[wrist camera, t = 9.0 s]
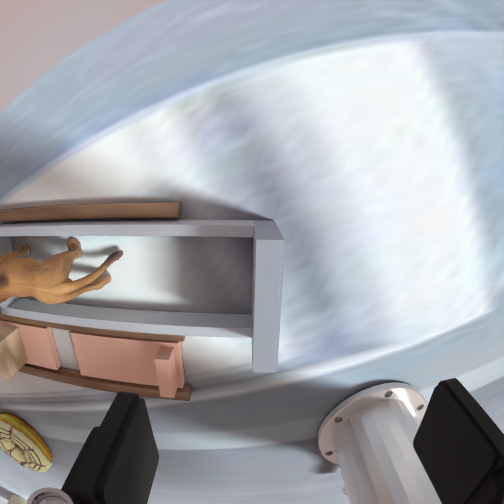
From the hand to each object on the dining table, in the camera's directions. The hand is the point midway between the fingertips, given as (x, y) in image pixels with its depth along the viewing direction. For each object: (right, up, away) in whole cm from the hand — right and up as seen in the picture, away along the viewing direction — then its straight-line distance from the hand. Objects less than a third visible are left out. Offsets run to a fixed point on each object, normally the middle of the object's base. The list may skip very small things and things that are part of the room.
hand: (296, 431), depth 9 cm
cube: (-27, -4, +17) cm, 32 cm away
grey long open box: (-13, +4, +16) cm, 21 cm away
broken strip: (-20, -4, +18) cm, 27 cm away
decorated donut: (-34, -21, +23) cm, 46 cm away
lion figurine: (-19, +4, +16) cm, 25 cm away
